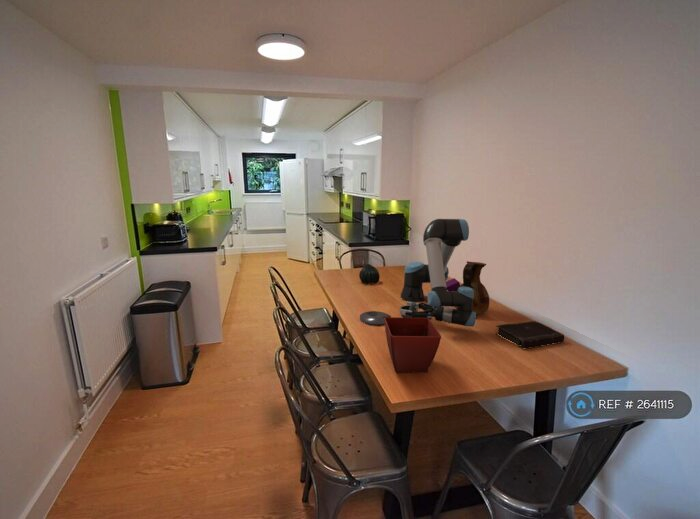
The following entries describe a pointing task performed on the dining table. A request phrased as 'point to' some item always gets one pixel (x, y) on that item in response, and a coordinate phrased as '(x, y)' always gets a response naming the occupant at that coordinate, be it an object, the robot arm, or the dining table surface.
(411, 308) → the mortar and pestle
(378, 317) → the disc
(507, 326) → the diary
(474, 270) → the ceramic pitcher
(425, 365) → the plant pot
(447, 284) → the mounting bracket
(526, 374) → the dining table surface
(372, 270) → the squash
